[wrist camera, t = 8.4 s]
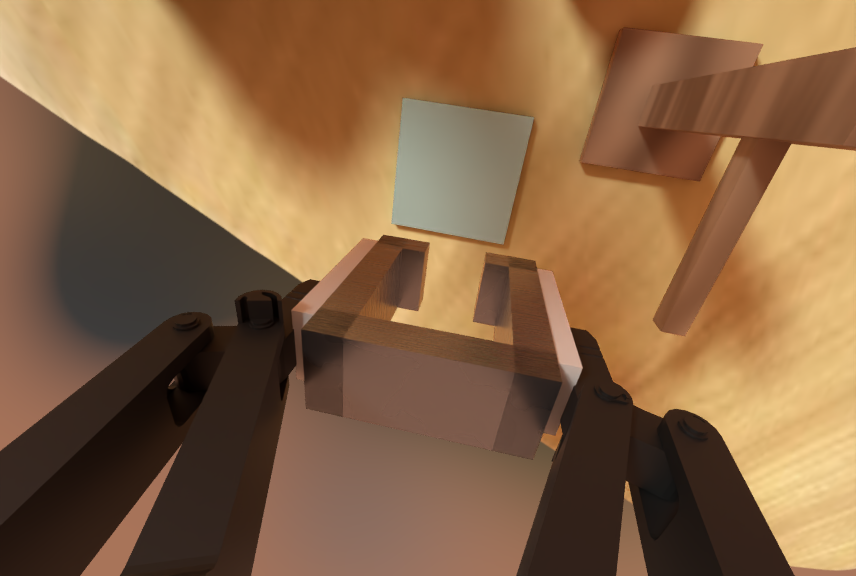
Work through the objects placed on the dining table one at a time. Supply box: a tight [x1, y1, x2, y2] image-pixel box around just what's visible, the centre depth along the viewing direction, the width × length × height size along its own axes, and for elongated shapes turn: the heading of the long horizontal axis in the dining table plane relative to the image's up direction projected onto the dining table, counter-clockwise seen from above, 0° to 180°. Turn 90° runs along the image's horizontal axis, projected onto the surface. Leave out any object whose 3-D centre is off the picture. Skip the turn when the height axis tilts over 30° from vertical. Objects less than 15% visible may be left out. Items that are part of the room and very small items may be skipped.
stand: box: [580, 28, 856, 336], centre depth 23 cm, size 10×18×22 cm, turn 172°
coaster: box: [391, 98, 534, 245], centre depth 36 cm, size 12×12×1 cm
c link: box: [301, 235, 563, 460], centre depth 14 cm, size 7×3×8 cm, turn 83°
